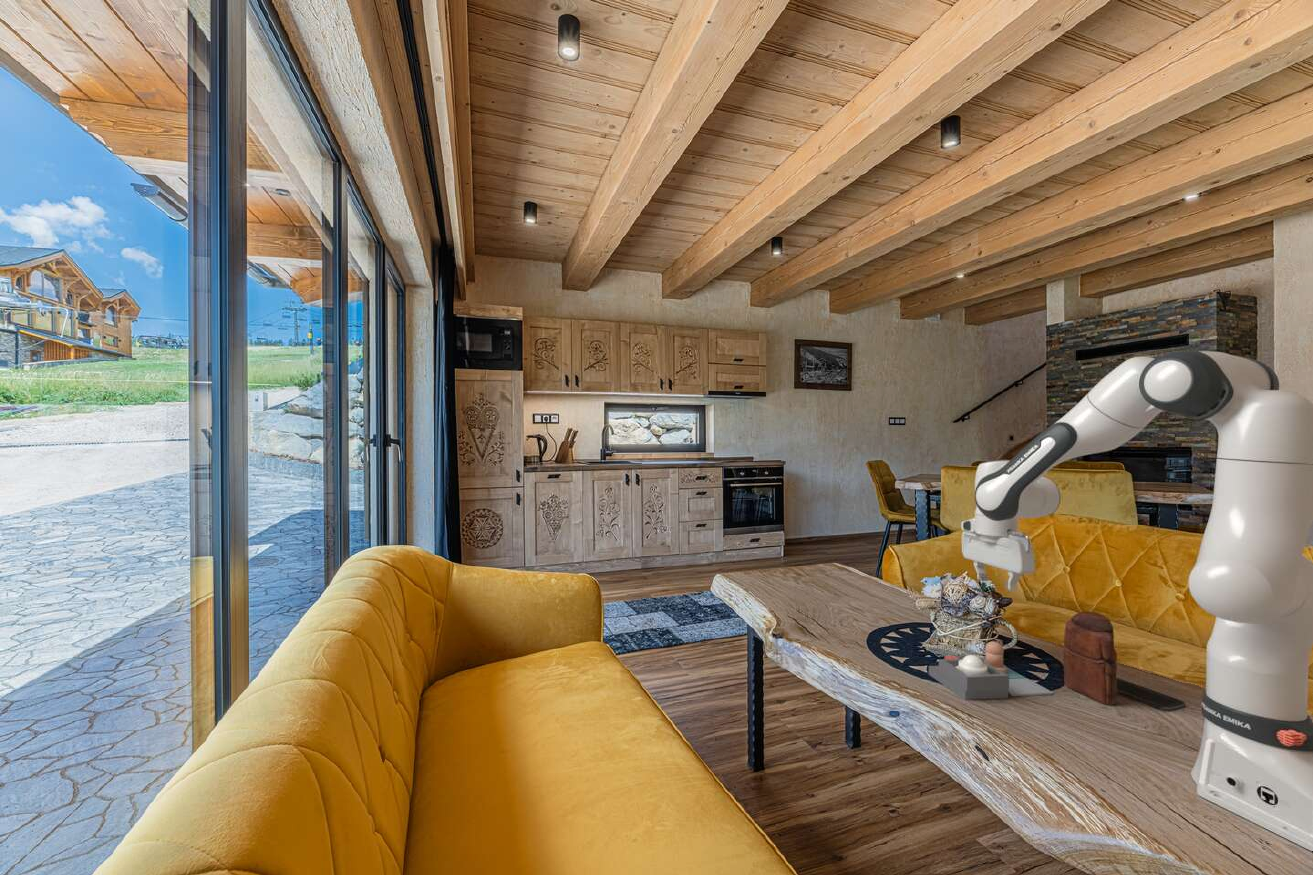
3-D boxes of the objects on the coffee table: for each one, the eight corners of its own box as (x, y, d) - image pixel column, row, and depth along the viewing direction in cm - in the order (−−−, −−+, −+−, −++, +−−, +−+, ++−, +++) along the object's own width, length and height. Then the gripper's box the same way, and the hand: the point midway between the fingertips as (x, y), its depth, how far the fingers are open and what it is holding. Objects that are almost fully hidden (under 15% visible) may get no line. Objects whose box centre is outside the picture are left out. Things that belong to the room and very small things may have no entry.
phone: (1165, 708, 116) (1087, 679, 130) (1165, 714, 116) (1087, 684, 130) (1188, 702, 119) (1109, 674, 133) (1188, 708, 119) (1109, 679, 133)
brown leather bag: (1130, 704, 119) (1131, 619, 120) (1106, 707, 118) (1107, 621, 118) (1077, 681, 131) (1078, 603, 131) (1055, 683, 130) (1056, 605, 130)
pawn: (1010, 675, 133) (1011, 645, 133) (992, 675, 132) (992, 645, 132) (996, 667, 137) (996, 638, 137) (978, 667, 137) (978, 638, 137)
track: (1053, 694, 124) (1053, 692, 124) (1011, 696, 122) (1011, 694, 122) (1001, 666, 139) (1001, 664, 139) (964, 667, 138) (964, 665, 138)
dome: (998, 685, 122) (998, 661, 122) (968, 686, 121) (969, 662, 122) (976, 672, 129) (976, 649, 129) (948, 673, 128) (948, 650, 128)
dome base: (1009, 698, 121) (1009, 675, 121) (966, 700, 120) (966, 677, 120) (967, 673, 134) (968, 652, 134) (928, 674, 133) (929, 653, 133)
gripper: (1042, 533, 125) (1043, 595, 125) (979, 521, 145) (979, 575, 145) (1016, 533, 124) (1017, 596, 124) (956, 521, 145) (956, 575, 144)
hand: (996, 584), depth 135 cm, fingers open, 8 cm apart
